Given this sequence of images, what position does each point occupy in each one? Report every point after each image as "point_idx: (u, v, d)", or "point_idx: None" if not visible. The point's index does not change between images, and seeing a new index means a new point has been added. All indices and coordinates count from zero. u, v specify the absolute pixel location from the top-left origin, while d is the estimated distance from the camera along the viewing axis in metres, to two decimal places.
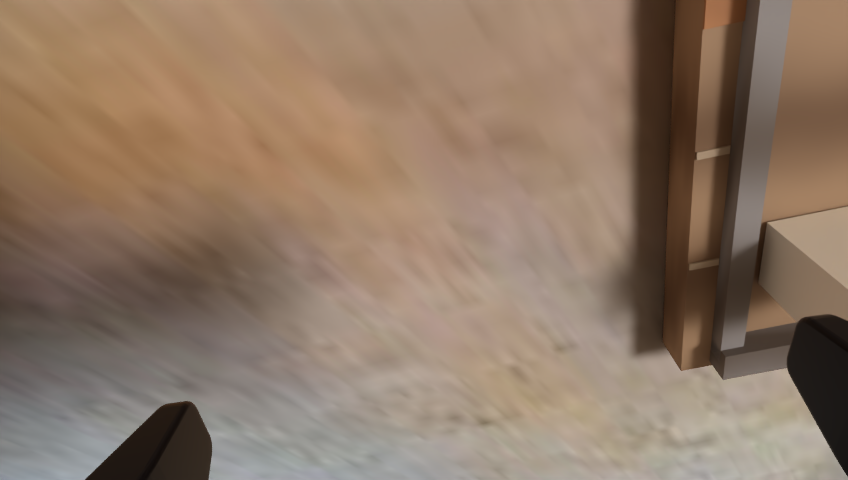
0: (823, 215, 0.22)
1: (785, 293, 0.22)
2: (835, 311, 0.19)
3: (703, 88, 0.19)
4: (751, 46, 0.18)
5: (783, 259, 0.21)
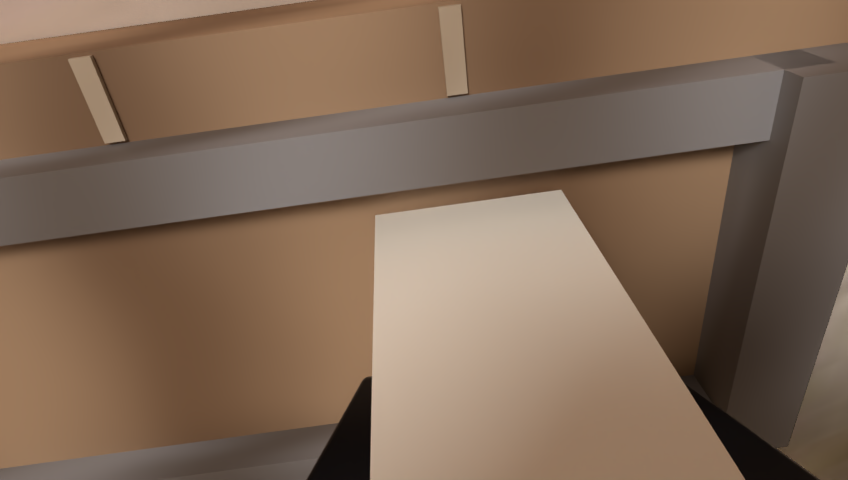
0: None
1: None
2: None
3: None
4: None
5: None
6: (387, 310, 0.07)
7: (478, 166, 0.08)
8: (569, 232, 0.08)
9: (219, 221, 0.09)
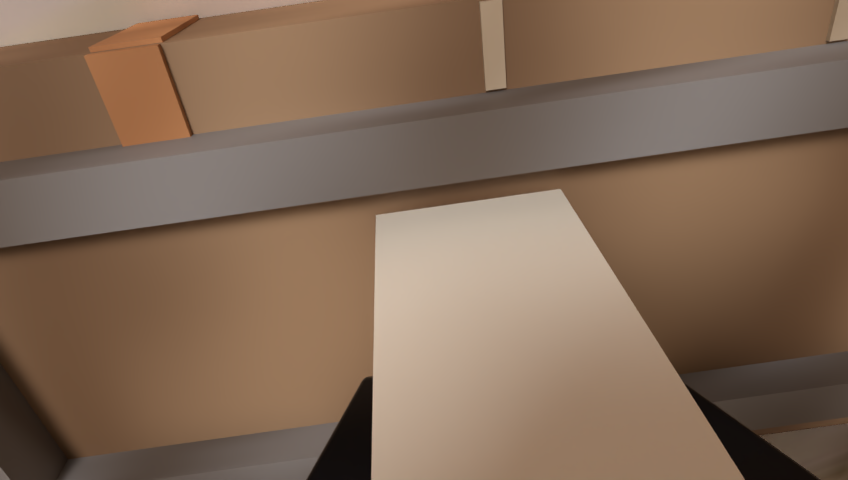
0: None
1: None
2: None
3: None
4: None
5: None
6: (388, 309, 0.07)
7: None
8: (568, 231, 0.08)
9: (564, 172, 0.09)
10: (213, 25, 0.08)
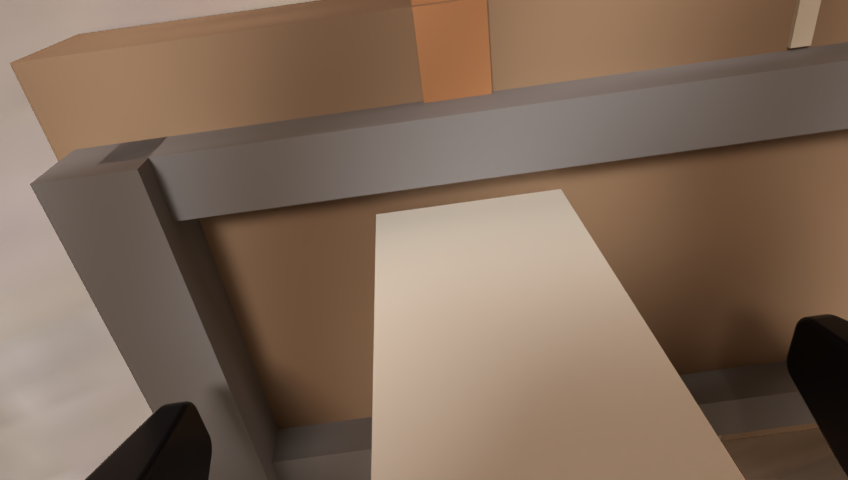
0: None
1: None
2: None
3: None
4: None
5: None
6: (388, 308, 0.07)
7: None
8: (568, 231, 0.08)
9: (839, 134, 0.09)
10: None
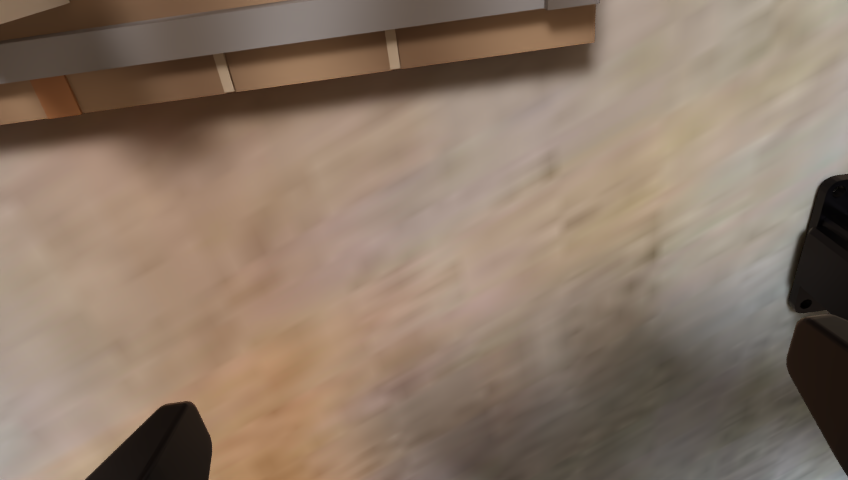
0: None
1: None
2: None
3: (146, 99, 0.17)
4: None
5: None
6: None
7: None
8: None
9: None
10: None
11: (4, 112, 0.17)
